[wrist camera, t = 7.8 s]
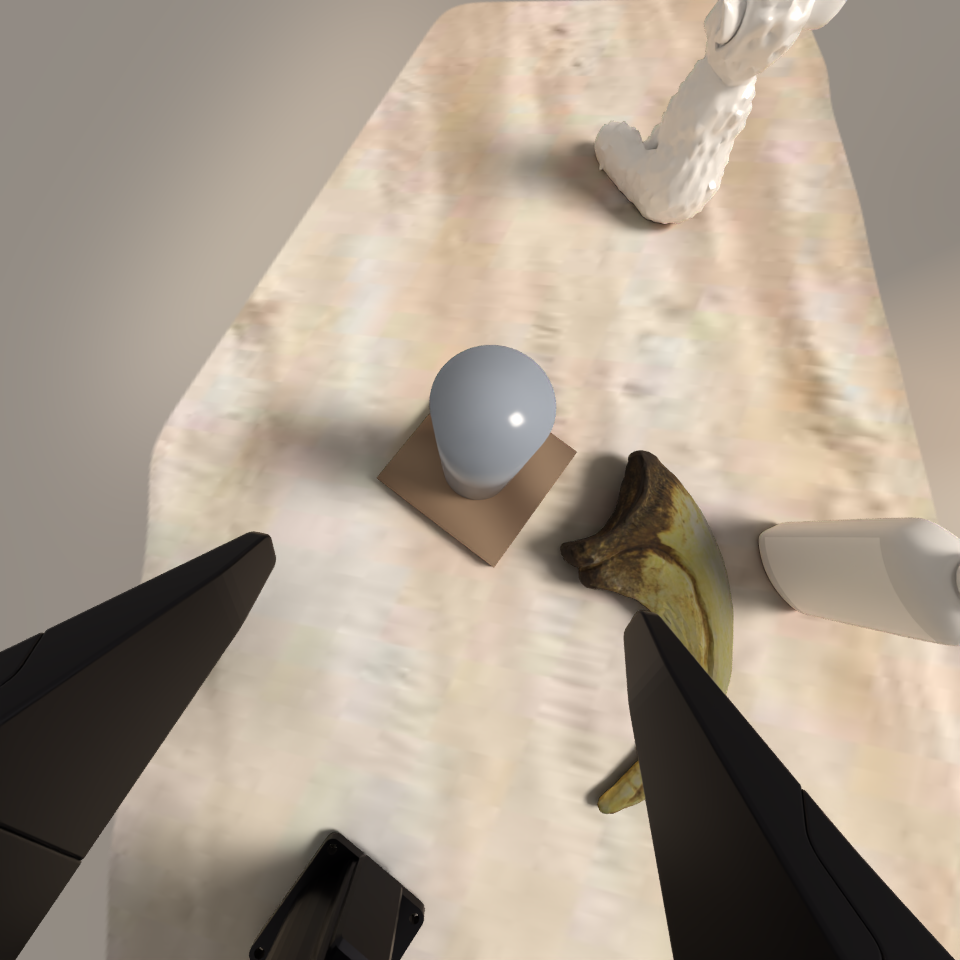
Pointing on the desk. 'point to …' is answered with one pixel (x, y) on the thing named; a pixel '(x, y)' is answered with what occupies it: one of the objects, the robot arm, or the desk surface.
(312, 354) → the desk surface
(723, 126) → the white creature statuette
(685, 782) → the robot arm
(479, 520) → the coaster
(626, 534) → the claw
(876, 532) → the eye dropper bottle
